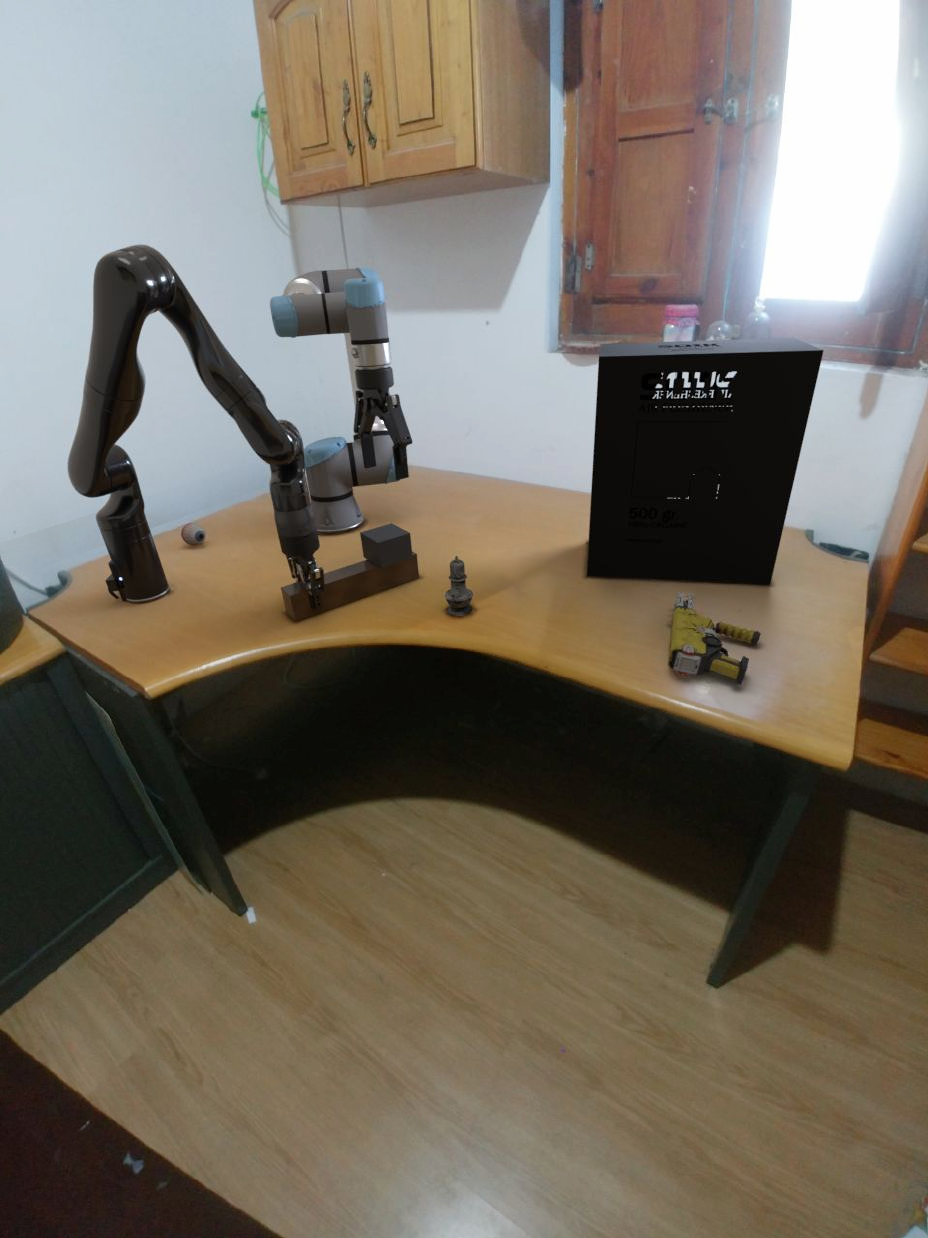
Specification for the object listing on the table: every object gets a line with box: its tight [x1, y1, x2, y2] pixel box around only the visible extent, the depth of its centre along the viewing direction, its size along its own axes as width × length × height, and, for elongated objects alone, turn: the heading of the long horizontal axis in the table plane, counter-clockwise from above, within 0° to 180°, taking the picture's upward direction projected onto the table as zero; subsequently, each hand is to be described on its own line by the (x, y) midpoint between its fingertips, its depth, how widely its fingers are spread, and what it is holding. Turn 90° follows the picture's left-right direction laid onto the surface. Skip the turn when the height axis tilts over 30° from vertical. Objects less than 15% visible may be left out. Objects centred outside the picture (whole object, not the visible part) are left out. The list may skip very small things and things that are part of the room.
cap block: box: [359, 522, 413, 569], centre depth 132 cm, size 8×8×6 cm
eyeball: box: [180, 522, 207, 547], centre depth 160 cm, size 6×6×6 cm
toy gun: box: [667, 591, 761, 686], centre depth 106 cm, size 5×24×15 cm
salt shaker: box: [444, 555, 474, 617], centre depth 120 cm, size 6×6×12 cm
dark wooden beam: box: [280, 550, 420, 622], centre depth 130 cm, size 30×5×6 cm, turn 126°
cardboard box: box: [586, 337, 824, 586], centre depth 127 cm, size 38×20×45 cm, turn 78°
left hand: (312, 603), depth 126 cm, fingers closed on dark wooden beam, 5 cm apart
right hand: (385, 472), depth 130 cm, fingers open, 13 cm apart
